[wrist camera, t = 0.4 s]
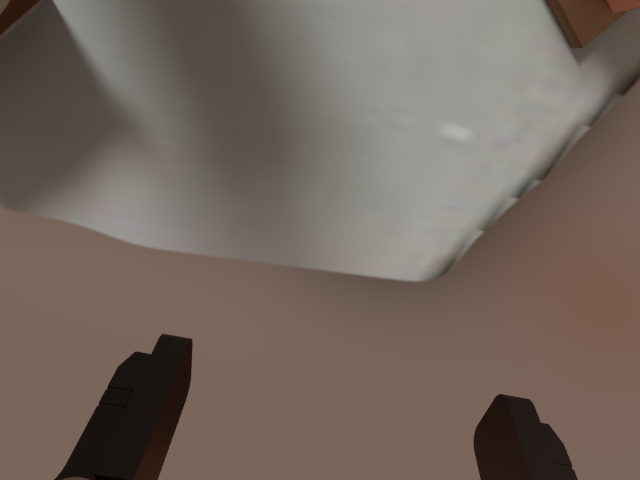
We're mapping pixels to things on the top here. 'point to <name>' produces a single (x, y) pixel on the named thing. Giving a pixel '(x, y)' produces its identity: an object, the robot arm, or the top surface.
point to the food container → (15, 13)
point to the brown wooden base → (583, 18)
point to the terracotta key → (623, 5)
